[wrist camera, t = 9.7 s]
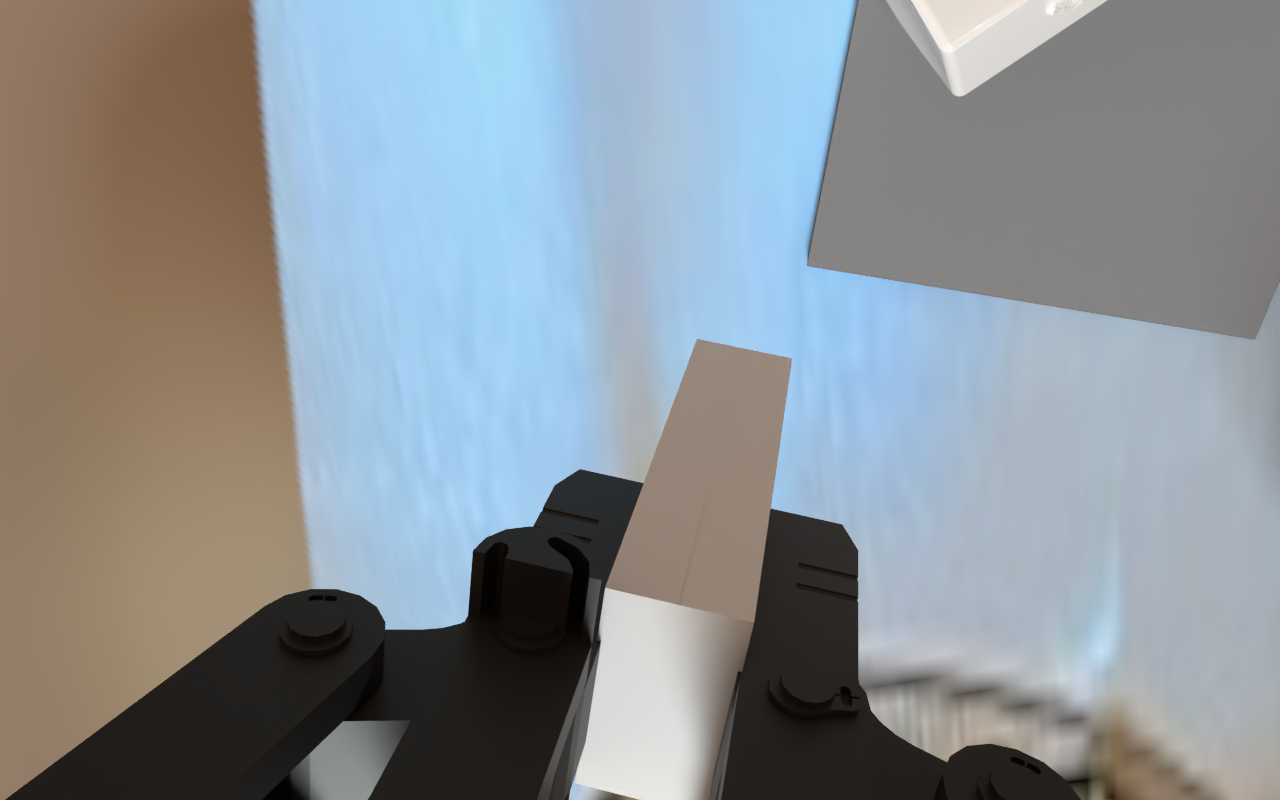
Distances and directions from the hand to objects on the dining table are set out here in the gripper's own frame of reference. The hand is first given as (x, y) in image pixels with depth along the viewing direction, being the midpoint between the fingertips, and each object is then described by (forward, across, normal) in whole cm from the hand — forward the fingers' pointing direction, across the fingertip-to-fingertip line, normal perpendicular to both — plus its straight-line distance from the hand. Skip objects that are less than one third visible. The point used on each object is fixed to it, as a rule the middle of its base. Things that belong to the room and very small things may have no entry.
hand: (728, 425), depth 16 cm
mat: (+23, -9, -4) cm, 25 cm away
